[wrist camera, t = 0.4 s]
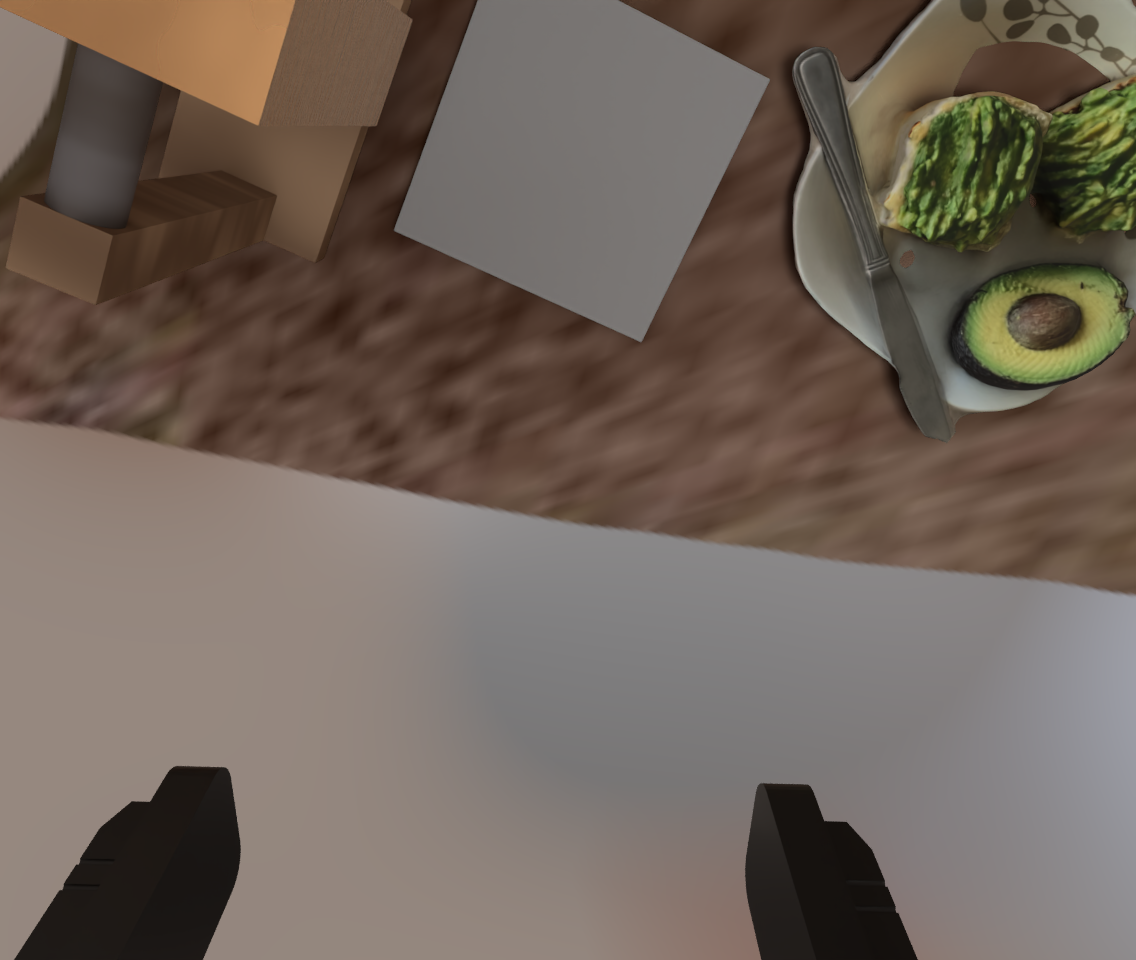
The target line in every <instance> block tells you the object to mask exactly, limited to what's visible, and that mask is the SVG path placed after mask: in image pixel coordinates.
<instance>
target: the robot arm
mask: <svg viewBox="0 0 1136 960" xmlns="http://www.w3.org/2000/svg"><path fill="white" fill-rule="evenodd" d="M240 847H241V846H240V837H239V831H238V823H237V816H236V809H235V802H234V797H233V789H232V783H231V776H230V773H229V771H228V769H227V768H224V767H192V766H191V767H190V766H175V767H173V768H172V769H171V770H170V771H169V772H168V774H167V775H166V777H165V778H164V780H163V781H162V783H161V785H160V786H159V788H158V790H157V791H156V793H155V795H154V796H153V798H152V800H151V801H150V802H134V801H132V802H131V803H130V804H128V805H127V806H126V807H125V808H123V809H122V810H121V811H120V812H119V813H117V814H116V815H115V816H114V817H113V818H111V819H110V820H109V821H108V822H107V823H105V824H104V825H103V826H102V827H101V828H100V829H99V830H98V832H97V834H96V835H95V837H94V838H93V840H92V841H91V843H90V844H89V846H88V847H87V849H86V850H85V852H84V853H83V855H82V857H81V858H80V863H79V865H76V866H75V867H74V869H73V870H72V872H71V873H70V875H69V877H68V878H67V880H66V881H65V883H64V887H63V890H60V891H59V892H58V893H57V895H56V897H55V898H54V899H53V901H52V903H51V904H50V906H49V907H48V909H47V910H46V912H45V914H44V915H43V916H42V918H41V920H40V921H39V922H38V924H37V926H36V927H35V929H34V930H33V932H32V933H31V935H30V936H29V938H28V939H27V941H26V942H25V944H24V946H23V947H22V949H21V950H20V952H19V953H18V955H17V956H16V958H15V959H14V960H203V958H204V956H205V953H206V951H207V949H208V946H209V944H210V942H211V939H212V937H213V935H214V932H215V930H216V928H217V925H218V923H219V921H220V918H221V916H222V914H223V911H224V909H225V907H226V905H227V902H228V900H229V898H230V895H231V893H232V890H233V888H234V885H235V881H236V878H237V875H238V870H239V864H240V853H241V852H240V851H241V848H240ZM745 867H746V868H745V877H746V891H747V898H748V903H749V908H750V913H751V917H752V921H753V925H754V930H755V934H756V939H757V943H758V947H759V951H760V956H761V960H918V959H917V957H916V954H915V952H914V950H913V947H912V945H911V943H910V940H909V938H908V936H907V933H906V930H905V928H904V926H903V923H902V921H901V918H900V916H899V914H898V913H896V910H895V907H896V906H895V904H894V902H893V899H892V897H891V895H890V892H889V890H888V887H885V880H884V878H883V875H882V873H881V870H880V868H879V866H878V863H877V861H876V858H875V856H874V853H873V851H872V849H871V848H870V847H869V846H868V845H867V844H866V843H865V842H864V840H863V839H862V838H861V837H860V836H859V835H858V834H857V833H856V832H855V831H854V829H853V828H852V827H851V826H850V825H849V824H848V823H847V822H829V821H828V822H827V821H824V819H823V817H822V814H821V811H820V809H819V806H818V803H817V800H816V798H815V795H814V792H813V790H812V789H811V787H810V786H809V785H803V784H765V783H763V784H759V785H758V787H757V791H756V796H755V802H754V809H753V816H752V822H751V828H750V835H749V842H748V848H747V855H746V866H745Z"/></svg>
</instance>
